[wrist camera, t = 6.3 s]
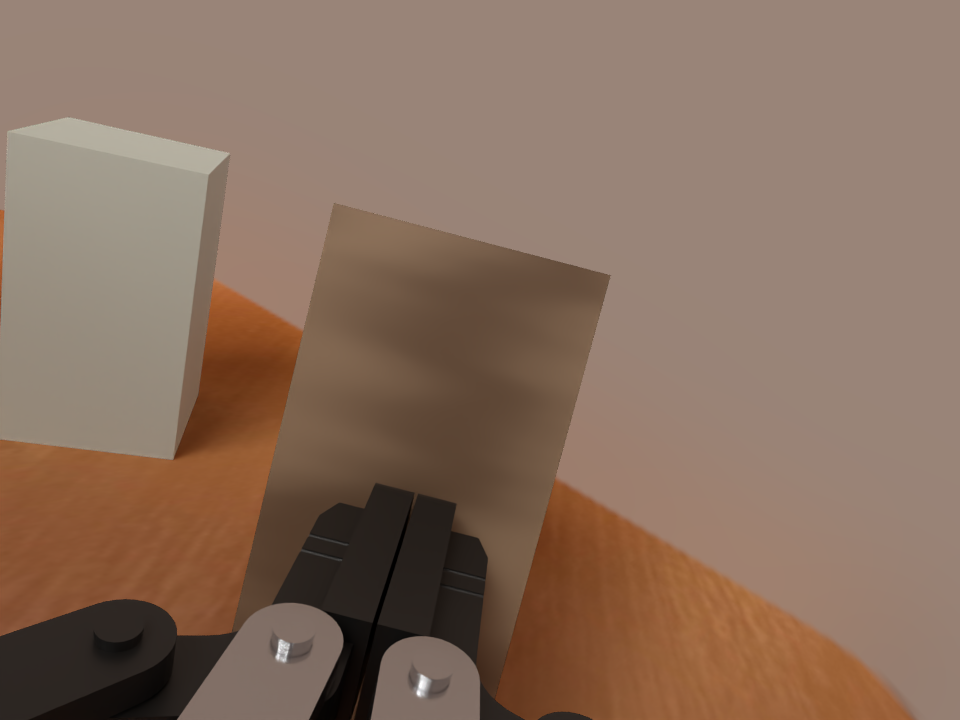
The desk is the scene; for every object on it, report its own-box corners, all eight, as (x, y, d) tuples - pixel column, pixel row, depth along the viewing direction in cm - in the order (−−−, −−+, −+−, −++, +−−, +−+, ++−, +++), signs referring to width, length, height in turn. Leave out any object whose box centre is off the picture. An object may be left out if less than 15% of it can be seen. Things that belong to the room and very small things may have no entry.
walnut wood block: (196, 779, 14) (333, 202, 13) (271, 651, 19) (375, 228, 18) (455, 843, 14) (610, 275, 13) (462, 699, 19) (575, 280, 18)
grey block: (-4, 439, 25) (7, 131, 21) (52, 374, 30) (68, 117, 26) (173, 459, 26) (208, 174, 23) (198, 394, 31) (230, 153, 28)
